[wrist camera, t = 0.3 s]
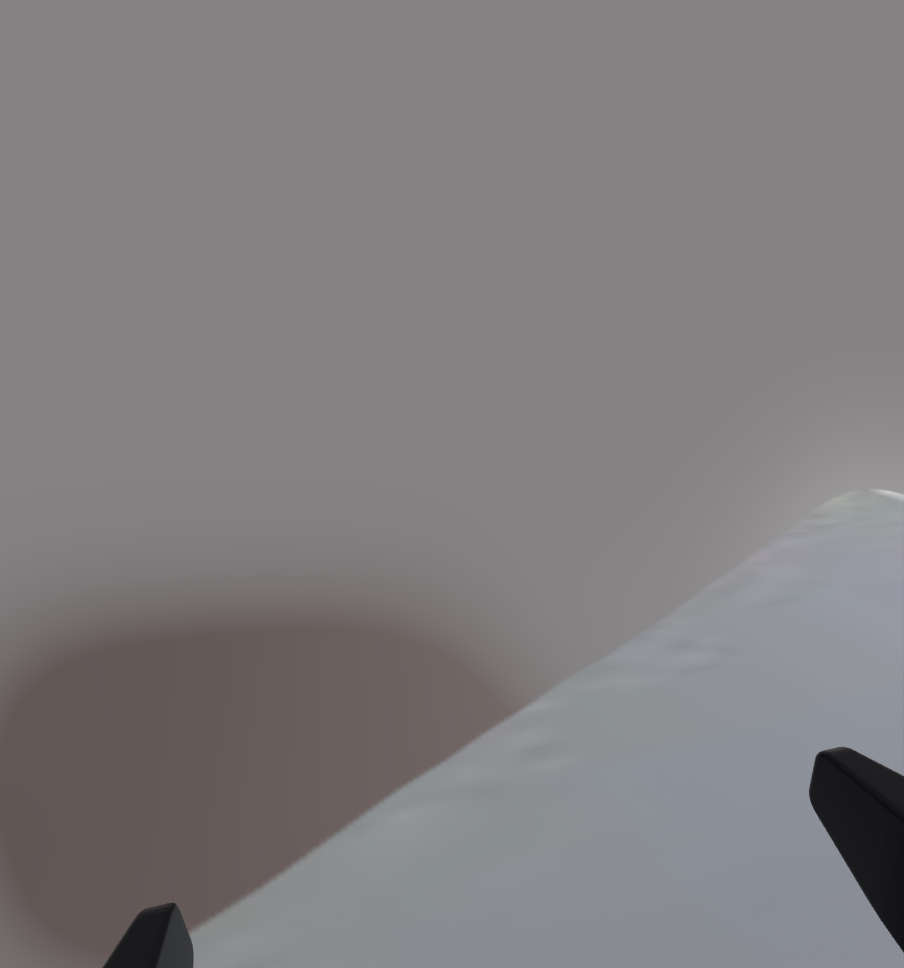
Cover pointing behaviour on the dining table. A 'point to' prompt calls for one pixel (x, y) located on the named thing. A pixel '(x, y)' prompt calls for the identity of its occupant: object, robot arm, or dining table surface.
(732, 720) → the dining table surface
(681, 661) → the dining table surface
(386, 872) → the dining table surface
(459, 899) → the dining table surface
